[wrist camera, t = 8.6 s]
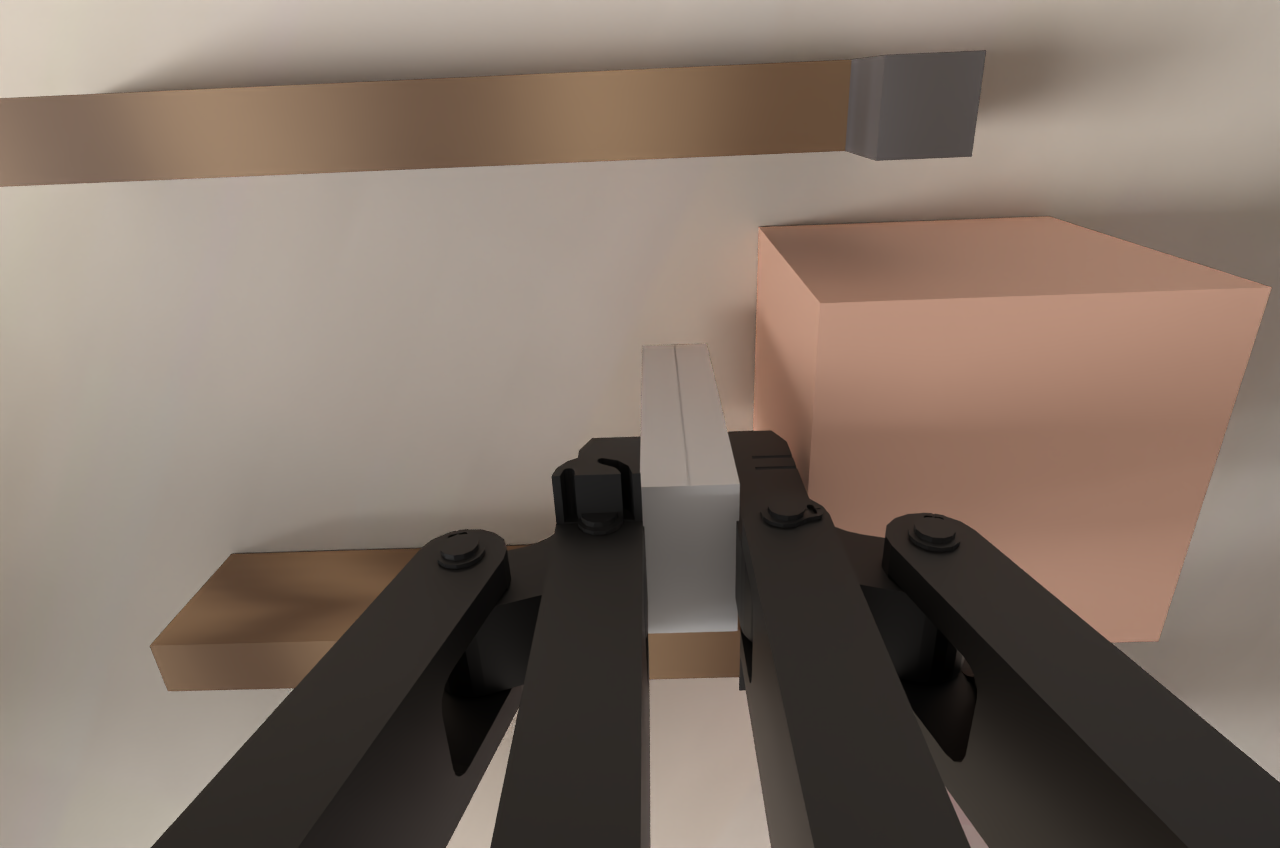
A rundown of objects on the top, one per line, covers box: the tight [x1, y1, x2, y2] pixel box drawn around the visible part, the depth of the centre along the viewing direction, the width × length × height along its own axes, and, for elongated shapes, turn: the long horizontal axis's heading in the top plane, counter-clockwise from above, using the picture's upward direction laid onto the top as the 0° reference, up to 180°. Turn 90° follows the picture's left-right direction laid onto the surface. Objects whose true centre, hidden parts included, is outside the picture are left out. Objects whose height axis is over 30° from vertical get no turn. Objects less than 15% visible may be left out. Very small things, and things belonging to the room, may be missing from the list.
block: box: [753, 216, 1272, 643], centre depth 16 cm, size 7×7×7 cm
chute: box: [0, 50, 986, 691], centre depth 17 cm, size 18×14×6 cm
